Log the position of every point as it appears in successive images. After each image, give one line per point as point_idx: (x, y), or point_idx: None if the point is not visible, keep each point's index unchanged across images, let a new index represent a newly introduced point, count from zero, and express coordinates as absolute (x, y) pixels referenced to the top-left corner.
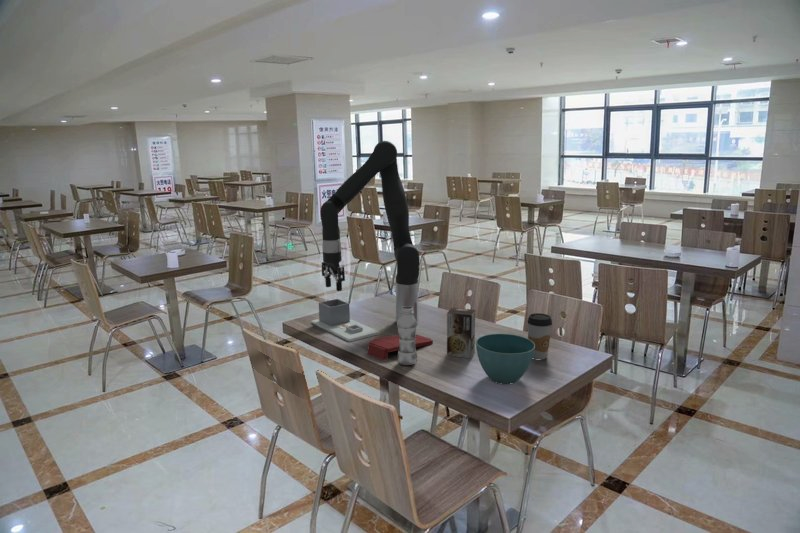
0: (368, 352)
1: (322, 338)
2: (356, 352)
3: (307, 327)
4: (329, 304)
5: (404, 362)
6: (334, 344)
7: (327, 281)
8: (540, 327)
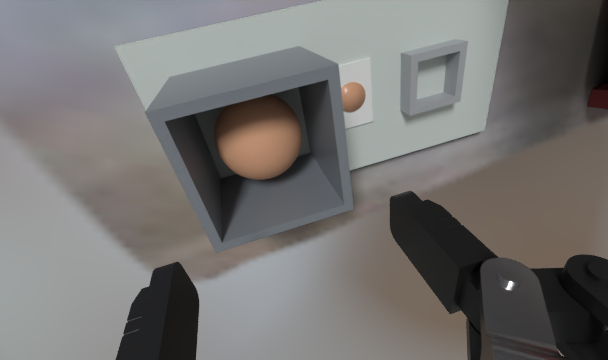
0: (597, 106)
1: None
2: (553, 133)
3: None
4: (198, 173)
5: None
6: (459, 176)
7: (188, 353)
8: None
